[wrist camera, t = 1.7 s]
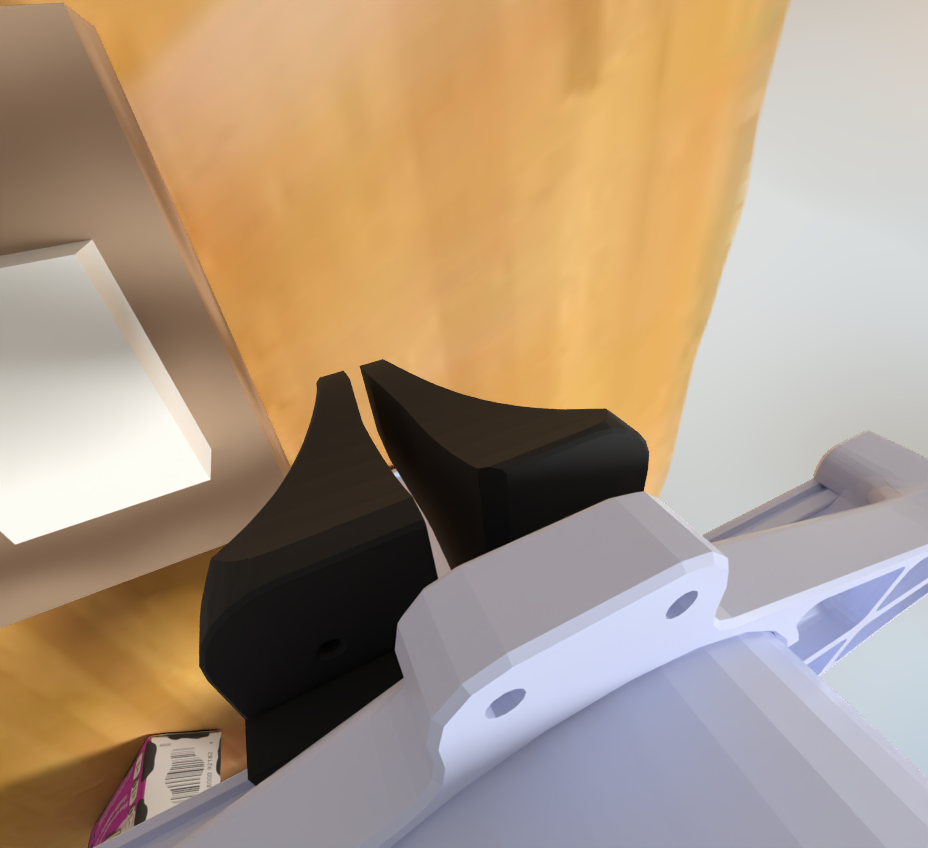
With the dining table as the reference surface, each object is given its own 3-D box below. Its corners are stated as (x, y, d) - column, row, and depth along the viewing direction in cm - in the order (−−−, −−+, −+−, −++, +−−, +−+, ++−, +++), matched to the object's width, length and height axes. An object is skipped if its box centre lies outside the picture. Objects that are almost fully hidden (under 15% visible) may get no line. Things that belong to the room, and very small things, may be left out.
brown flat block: (292, 472, 24) (301, 515, 21) (29, 563, 21) (1, 628, 18) (94, 27, 13) (63, 2, 11) (-516, 66, 10) (-783, 44, 7)
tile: (211, 449, 18) (210, 479, 16) (34, 505, 16) (14, 544, 15) (92, 239, 13) (75, 254, 12) (-176, 287, 11) (-237, 312, 10)
